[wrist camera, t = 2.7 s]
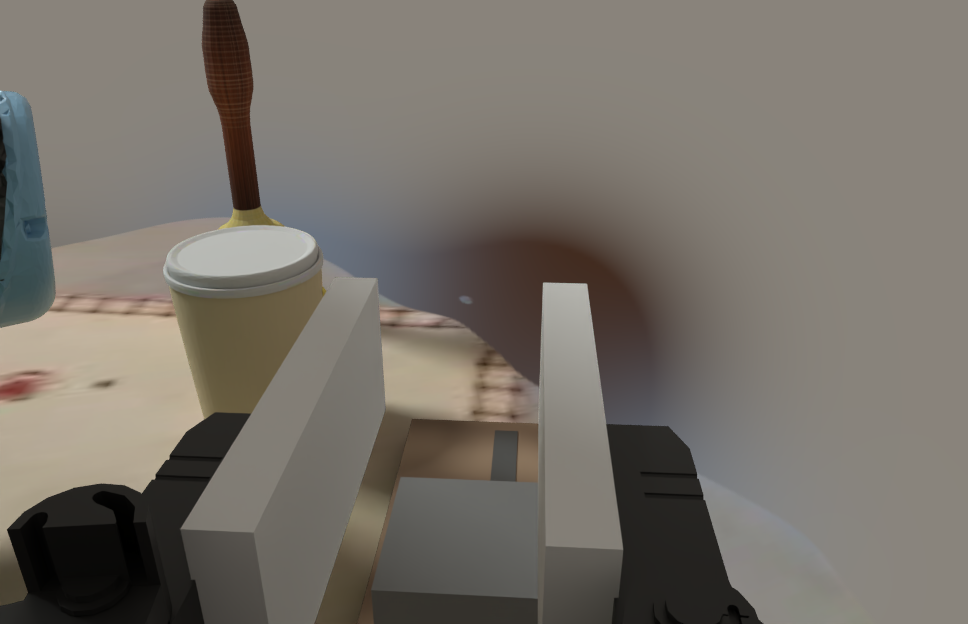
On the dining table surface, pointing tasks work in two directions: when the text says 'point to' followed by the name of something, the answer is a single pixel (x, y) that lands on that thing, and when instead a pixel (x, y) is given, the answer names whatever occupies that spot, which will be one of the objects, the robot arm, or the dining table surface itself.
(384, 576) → the fader knob
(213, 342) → the coffee cup
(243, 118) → the handbell
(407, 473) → the fader track
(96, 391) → the dining table surface
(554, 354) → the robot arm
